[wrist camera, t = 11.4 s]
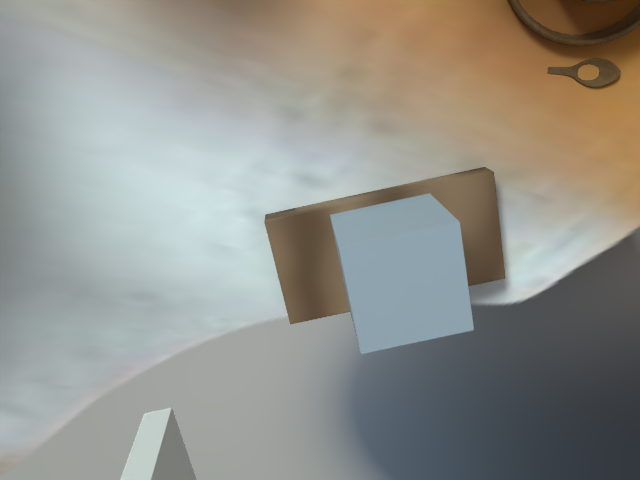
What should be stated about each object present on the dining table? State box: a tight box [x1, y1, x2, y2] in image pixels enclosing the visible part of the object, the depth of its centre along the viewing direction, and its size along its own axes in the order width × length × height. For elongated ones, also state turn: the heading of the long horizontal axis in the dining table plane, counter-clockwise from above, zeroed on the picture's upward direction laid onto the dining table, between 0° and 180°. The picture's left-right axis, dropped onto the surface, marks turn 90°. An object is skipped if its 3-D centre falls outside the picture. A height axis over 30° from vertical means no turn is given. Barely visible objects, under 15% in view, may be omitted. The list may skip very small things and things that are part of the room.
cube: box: [330, 193, 474, 354], centre depth 36 cm, size 7×7×7 cm
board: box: [265, 167, 505, 324], centre depth 40 cm, size 16×8×2 cm, turn 102°
